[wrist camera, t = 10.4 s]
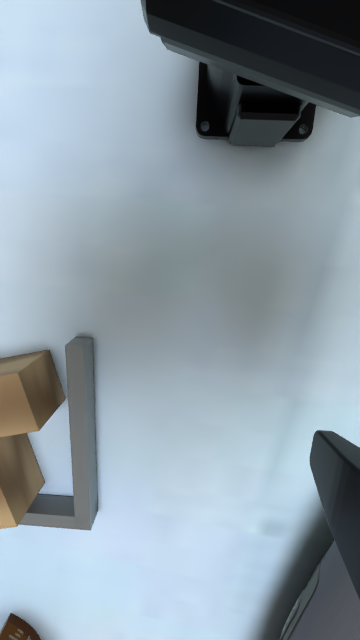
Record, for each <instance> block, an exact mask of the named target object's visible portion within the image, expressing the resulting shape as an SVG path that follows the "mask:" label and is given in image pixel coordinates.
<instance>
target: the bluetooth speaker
mask: <svg viewBox="0 0 360 640" xmlns="http://www.w3.org/2000/svg"><path fill="white" fill-rule="evenodd" d="M280 640H360V601H359V598H358V596H357V594H356V591H355V589H354V586H353V584H352V582H351V579H350V577H349V574H348V572H347V570H346V567H345V565H344V562H343V560H342V558H341V555H340V553H339V550H338V548H337V545H336V543H335V541H334V542H333V543H332V545H331V547H330V548H329V550H328V551H327V552H326V553H325V554H324V555H323V557H322V558H321V559H320V561H319V562H318V564H317V566H316V567H315V569H314V571H313V572H312V574H311V576H310V578H309V580H308V582H307V584H306V586H305V588H304V589H303V590H302V592H301V594H300V596H299V597H298V599H297V601H296V603H295V605H294V607H293V608H292V610H291V612H290V614H289V616H288V619H287V621H286V623H285V625H284V628H283V630H282V633H281V637H280Z"/></svg>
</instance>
